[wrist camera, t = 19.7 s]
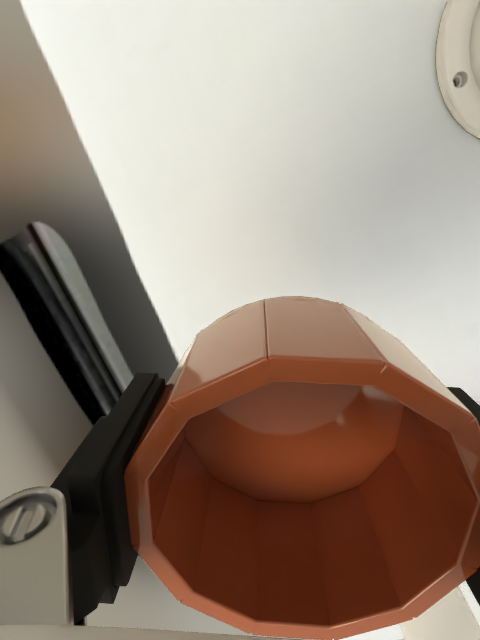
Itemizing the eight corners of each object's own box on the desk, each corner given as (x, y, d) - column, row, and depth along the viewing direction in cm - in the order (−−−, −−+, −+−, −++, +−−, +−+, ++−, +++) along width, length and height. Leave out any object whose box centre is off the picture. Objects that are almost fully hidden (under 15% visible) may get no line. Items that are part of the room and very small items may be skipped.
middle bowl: (178, 277, 11) (107, 348, 6) (412, 286, 11) (555, 369, 5) (184, 462, 13) (138, 628, 8) (375, 473, 13) (450, 651, 8)
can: (365, 558, 37) (414, 716, 26) (414, 527, 35) (488, 681, 24) (405, 588, 38) (467, 750, 27) (453, 559, 37) (541, 719, 25)
